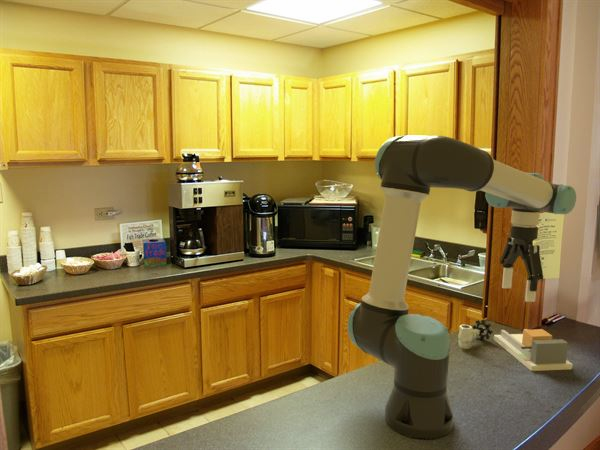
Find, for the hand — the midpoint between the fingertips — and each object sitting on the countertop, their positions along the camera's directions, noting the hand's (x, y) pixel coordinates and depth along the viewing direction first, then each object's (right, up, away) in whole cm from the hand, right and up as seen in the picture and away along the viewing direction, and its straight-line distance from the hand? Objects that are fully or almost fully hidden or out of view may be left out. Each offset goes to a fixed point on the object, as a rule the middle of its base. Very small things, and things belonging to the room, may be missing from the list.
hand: (517, 294), depth 151 cm
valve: (-12, -16, +5) cm, 21 cm away
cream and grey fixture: (+3, -17, -2) cm, 18 cm away
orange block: (+3, -16, -5) cm, 17 cm away
